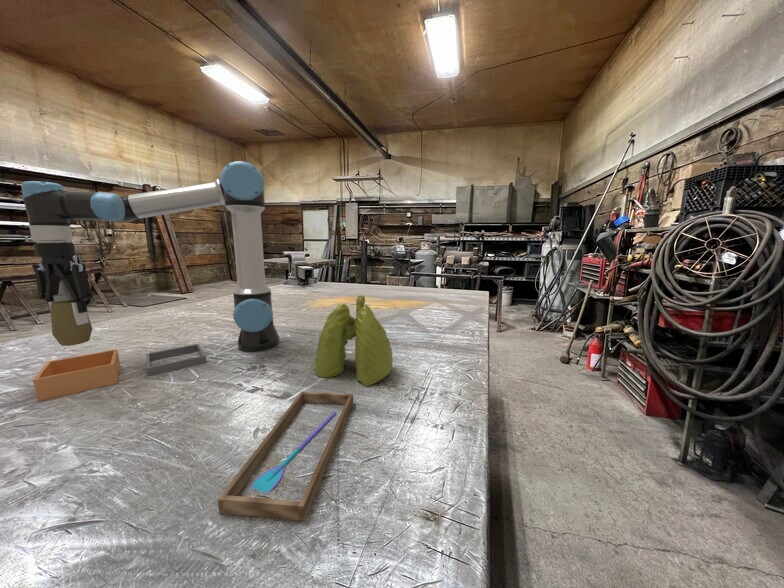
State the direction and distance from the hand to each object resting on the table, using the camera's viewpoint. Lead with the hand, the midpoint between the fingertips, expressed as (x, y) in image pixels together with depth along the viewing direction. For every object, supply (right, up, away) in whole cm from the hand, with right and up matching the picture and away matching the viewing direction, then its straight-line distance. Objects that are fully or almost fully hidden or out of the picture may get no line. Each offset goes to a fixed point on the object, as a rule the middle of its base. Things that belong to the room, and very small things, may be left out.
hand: (71, 323), depth 86 cm
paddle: (+74, -23, -25) cm, 81 cm away
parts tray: (+18, -15, +17) cm, 29 cm away
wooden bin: (0, -18, +3) cm, 18 cm away
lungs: (+80, -16, +9) cm, 82 cm away
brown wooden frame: (+74, -22, -25) cm, 81 cm away
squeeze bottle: (0, -6, +1) cm, 6 cm away
